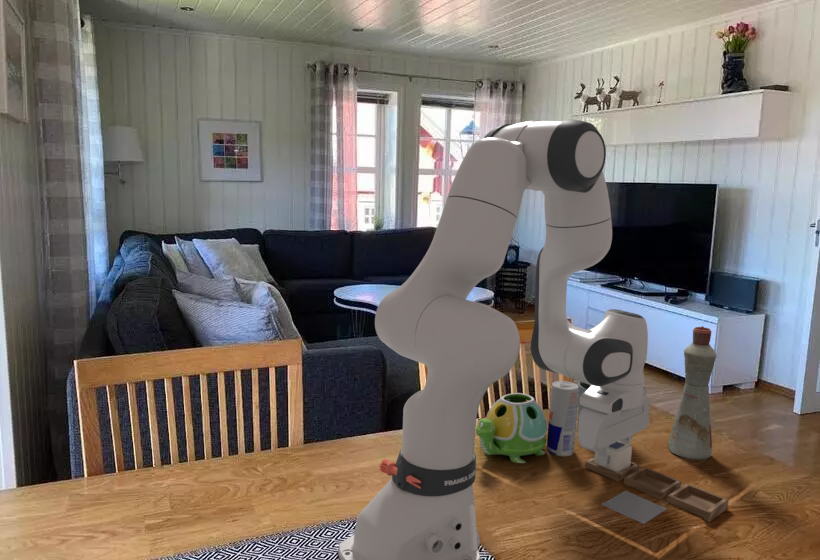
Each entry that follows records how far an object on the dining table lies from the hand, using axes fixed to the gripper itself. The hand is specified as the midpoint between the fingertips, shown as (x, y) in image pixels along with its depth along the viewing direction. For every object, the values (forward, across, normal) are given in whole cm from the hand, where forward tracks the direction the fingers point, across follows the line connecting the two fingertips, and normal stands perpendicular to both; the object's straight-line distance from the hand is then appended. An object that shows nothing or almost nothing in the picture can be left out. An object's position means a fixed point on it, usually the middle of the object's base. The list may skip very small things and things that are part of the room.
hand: (612, 459), depth 125 cm
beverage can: (+3, +1, -12) cm, 12 cm away
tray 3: (+2, 0, +17) cm, 17 cm away
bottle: (+3, -21, +6) cm, 22 cm away
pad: (+2, +10, +10) cm, 15 cm away
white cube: (+2, 0, 0) cm, 2 cm away
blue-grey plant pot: (+3, -13, -12) cm, 18 cm away
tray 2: (+2, 0, +8) cm, 9 cm away
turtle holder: (+3, +10, -18) cm, 20 cm away
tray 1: (+2, 0, 0) cm, 2 cm away
